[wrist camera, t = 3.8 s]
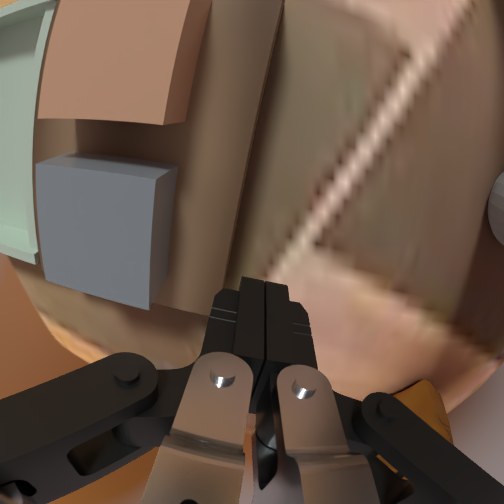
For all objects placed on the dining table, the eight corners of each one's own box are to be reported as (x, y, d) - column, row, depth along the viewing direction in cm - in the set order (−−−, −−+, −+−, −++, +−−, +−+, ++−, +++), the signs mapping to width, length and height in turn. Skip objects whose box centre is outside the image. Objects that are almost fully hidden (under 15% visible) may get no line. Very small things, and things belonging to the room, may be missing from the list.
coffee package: (316, 411, 27) (327, 616, 7) (432, 362, 23) (501, 564, 4) (345, 444, 30) (360, 599, 11) (438, 406, 27) (484, 559, 7)
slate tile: (178, 164, 13) (155, 179, 10) (167, 276, 16) (148, 310, 13) (71, 151, 13) (35, 163, 10) (73, 254, 15) (45, 280, 13)
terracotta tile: (212, 0, 10) (197, -26, 7) (185, 121, 12) (163, 125, 9) (97, 4, 9) (64, -11, 7) (75, 113, 12) (37, 118, 9)
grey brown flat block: (284, 3, 12) (288, -25, 9) (225, 280, 20) (216, 317, 17) (96, -2, 12) (63, -17, 8) (71, 245, 20) (41, 271, 16)
